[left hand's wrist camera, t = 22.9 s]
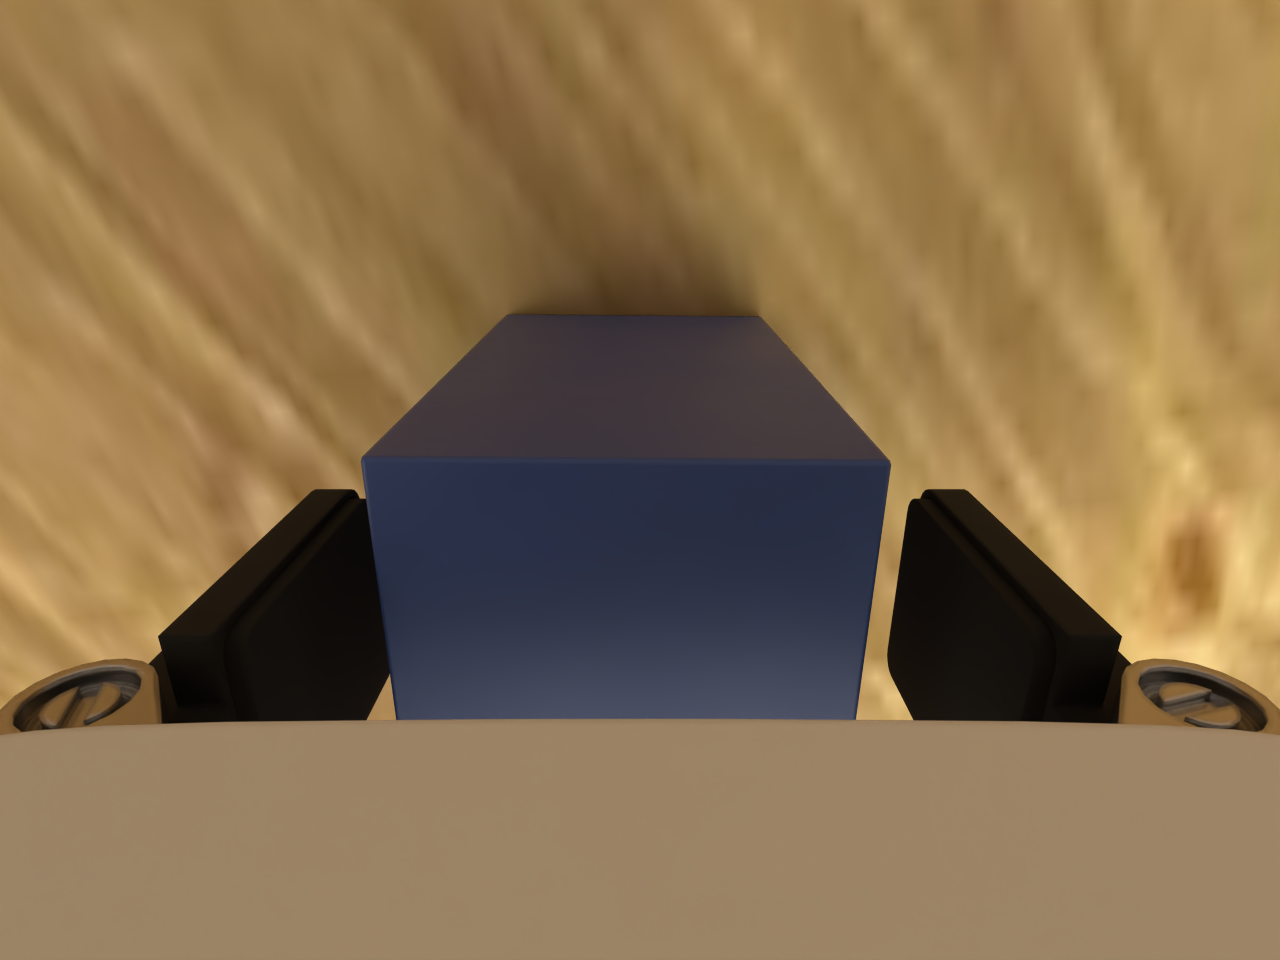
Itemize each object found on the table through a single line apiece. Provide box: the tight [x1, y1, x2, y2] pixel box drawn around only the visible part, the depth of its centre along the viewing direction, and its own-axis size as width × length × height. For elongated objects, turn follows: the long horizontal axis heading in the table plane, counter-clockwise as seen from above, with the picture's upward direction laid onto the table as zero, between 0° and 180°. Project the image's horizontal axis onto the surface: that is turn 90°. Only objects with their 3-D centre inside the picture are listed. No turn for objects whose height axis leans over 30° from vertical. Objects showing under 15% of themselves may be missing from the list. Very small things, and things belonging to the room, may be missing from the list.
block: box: [361, 315, 891, 720], centre depth 13 cm, size 6×5×9 cm
